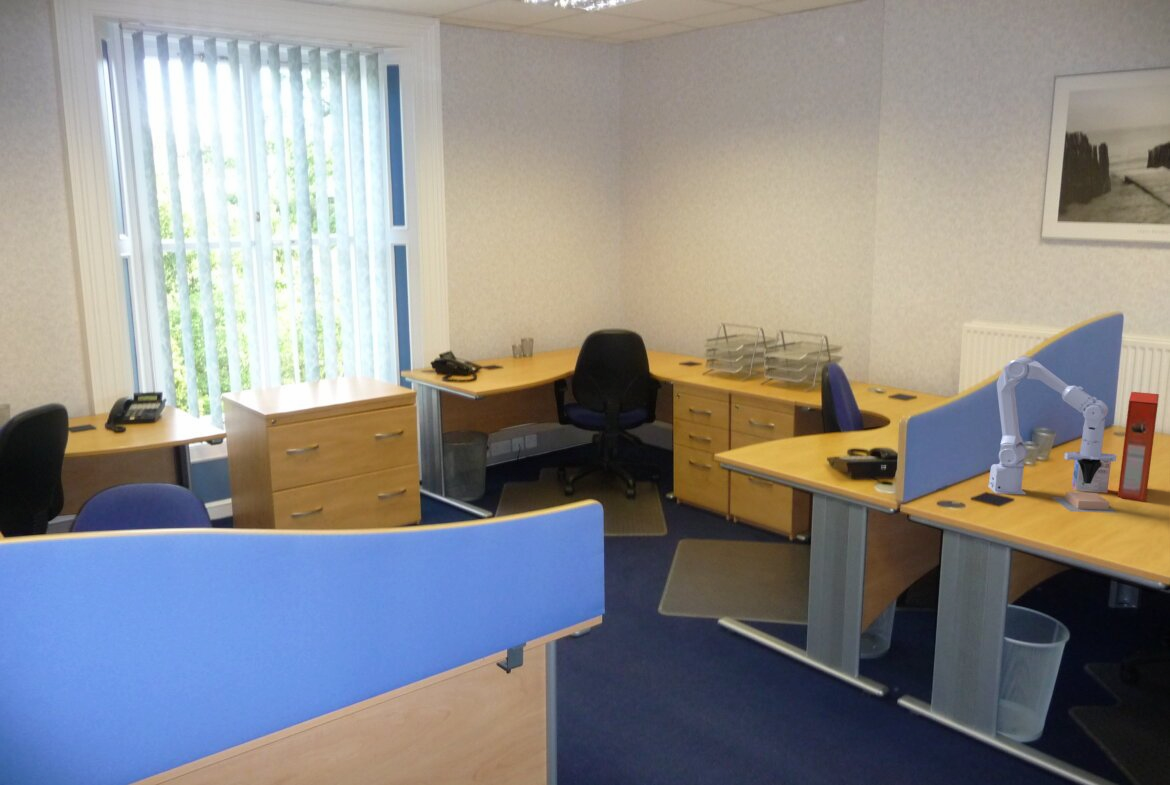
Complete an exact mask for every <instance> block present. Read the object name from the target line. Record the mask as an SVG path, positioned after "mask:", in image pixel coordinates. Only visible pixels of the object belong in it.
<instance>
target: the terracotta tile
mask: <svg viewBox="0 0 1170 785" xmlns="http://www.w3.org/2000/svg"><path fill="white" fill-rule="evenodd" d="M1065 492H1066V493H1065V497H1066V499H1065V500H1067V501H1068V502H1069V503H1071V504H1072V505H1074V506H1075V507H1076V508H1078V509H1102V510H1108V508H1109V507H1110V501H1109V500H1107V499H1105V498H1104V497H1103V496H1101V495H1100V494H1099V493H1098V492H1082V491H1073V492H1072V491H1065Z"/></svg>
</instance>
